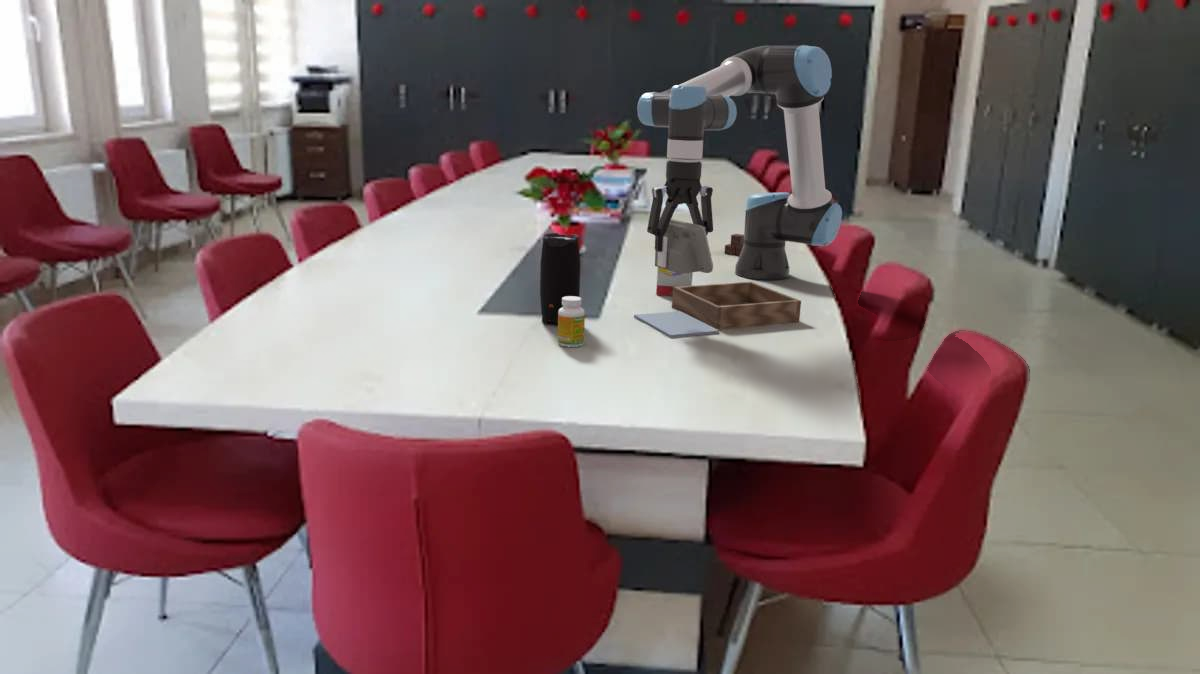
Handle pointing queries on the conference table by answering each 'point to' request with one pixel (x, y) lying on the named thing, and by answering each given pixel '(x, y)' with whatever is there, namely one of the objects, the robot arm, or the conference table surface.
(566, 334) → the supplement bottle
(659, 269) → the ink box
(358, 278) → the conference table surface
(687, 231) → the digital clock
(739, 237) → the stack of crates
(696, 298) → the walnut tray
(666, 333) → the slate mat
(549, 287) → the portable speaker
